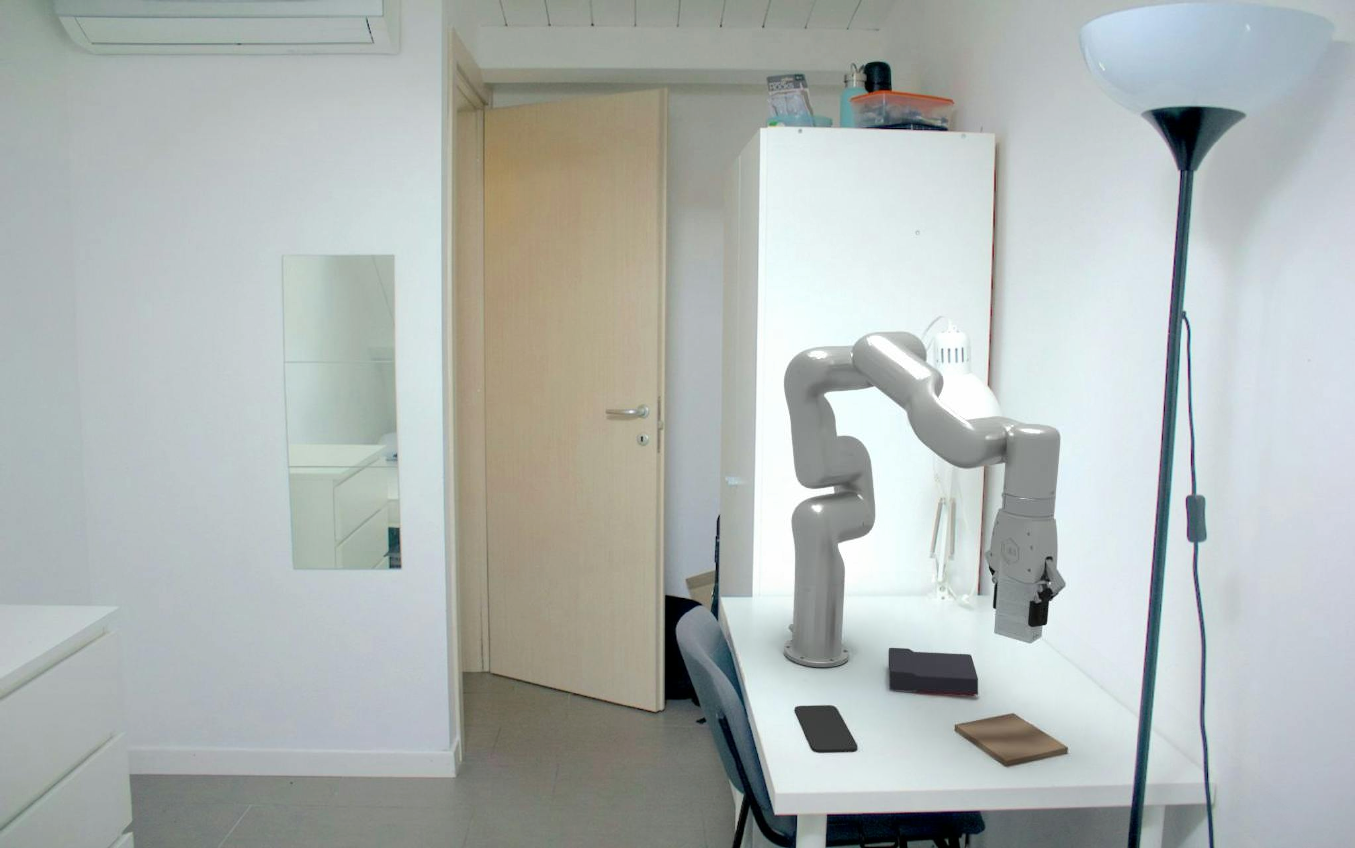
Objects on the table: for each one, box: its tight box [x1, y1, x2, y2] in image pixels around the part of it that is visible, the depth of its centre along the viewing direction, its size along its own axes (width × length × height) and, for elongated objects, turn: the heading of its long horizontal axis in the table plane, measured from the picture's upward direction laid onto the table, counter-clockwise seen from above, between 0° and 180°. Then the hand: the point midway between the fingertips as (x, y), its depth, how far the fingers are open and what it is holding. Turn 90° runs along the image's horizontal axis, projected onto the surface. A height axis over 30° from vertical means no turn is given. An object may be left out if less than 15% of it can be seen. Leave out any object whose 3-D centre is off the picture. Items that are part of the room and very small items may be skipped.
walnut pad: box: [953, 712, 1069, 768], centre depth 143 cm, size 12×12×1 cm
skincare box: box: [993, 560, 1043, 644], centre depth 140 cm, size 6×4×12 cm
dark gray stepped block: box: [888, 647, 979, 697], centre depth 164 cm, size 11×4×15 cm
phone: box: [794, 704, 858, 754], centre depth 147 cm, size 7×1×15 cm
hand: (1019, 615), depth 140 cm, fingers closed on skincare box, 7 cm apart
